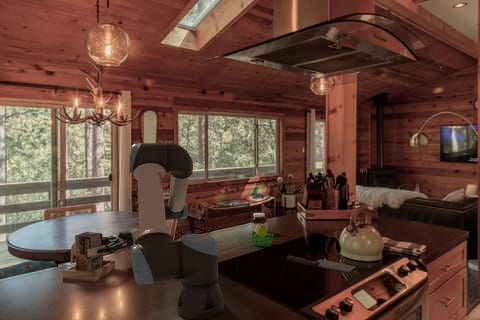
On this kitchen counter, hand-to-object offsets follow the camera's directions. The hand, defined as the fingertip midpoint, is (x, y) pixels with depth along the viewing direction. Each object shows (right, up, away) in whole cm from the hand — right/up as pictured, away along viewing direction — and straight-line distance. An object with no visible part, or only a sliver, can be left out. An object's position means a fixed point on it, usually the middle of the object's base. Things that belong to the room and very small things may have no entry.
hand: (80, 249), depth 135 cm
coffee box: (+2, -10, +3) cm, 11 cm away
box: (+2, -11, +3) cm, 11 cm away
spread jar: (+76, -8, +63) cm, 99 cm away
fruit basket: (+76, -9, +41) cm, 87 cm away
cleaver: (+100, -10, +11) cm, 101 cm away
